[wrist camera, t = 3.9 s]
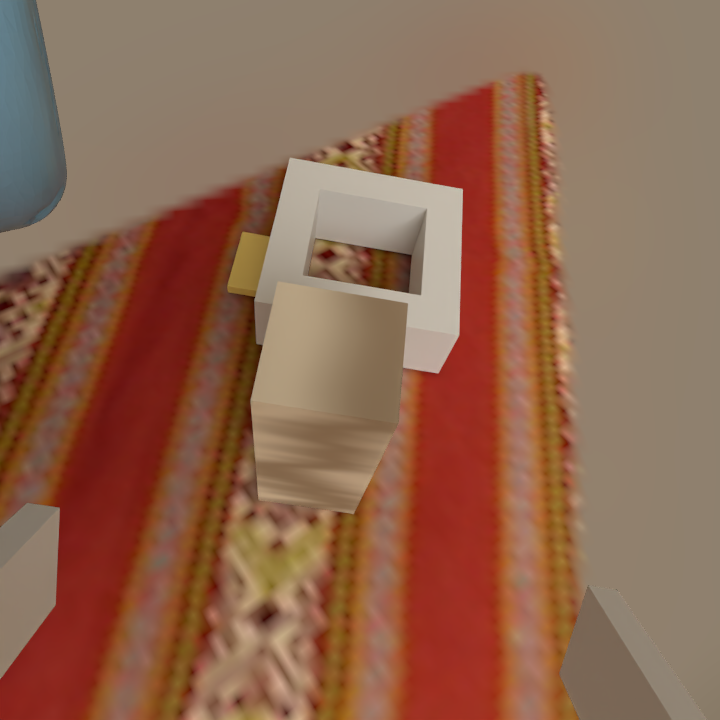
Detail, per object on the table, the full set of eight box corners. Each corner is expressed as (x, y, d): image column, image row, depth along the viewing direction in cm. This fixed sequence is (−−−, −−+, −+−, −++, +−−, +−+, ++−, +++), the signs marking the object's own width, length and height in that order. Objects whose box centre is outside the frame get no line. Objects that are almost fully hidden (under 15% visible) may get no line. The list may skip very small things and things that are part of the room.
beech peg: (258, 500, 26) (250, 400, 17) (276, 412, 29) (277, 281, 19) (353, 513, 27) (398, 423, 17) (363, 426, 29) (408, 303, 19)
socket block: (215, 337, 30) (207, 293, 27) (253, 202, 35) (250, 150, 32) (438, 373, 31) (459, 335, 28) (444, 236, 36) (462, 189, 33)
